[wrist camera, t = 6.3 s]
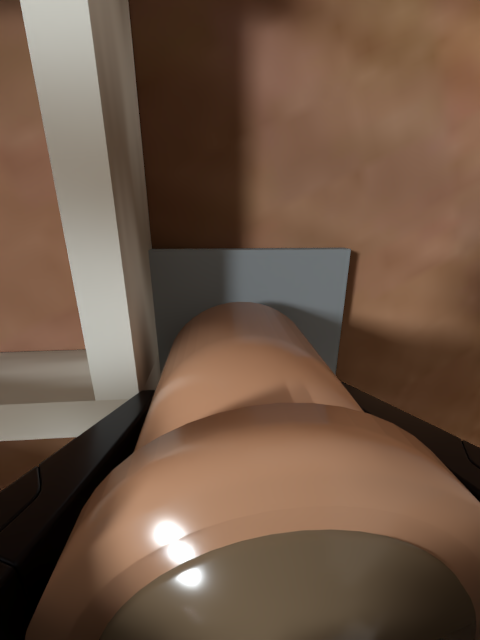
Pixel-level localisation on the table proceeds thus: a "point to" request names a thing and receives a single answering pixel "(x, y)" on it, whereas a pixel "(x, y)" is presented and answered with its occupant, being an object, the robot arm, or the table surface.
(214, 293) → the pad
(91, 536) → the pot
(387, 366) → the table surface
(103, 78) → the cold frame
